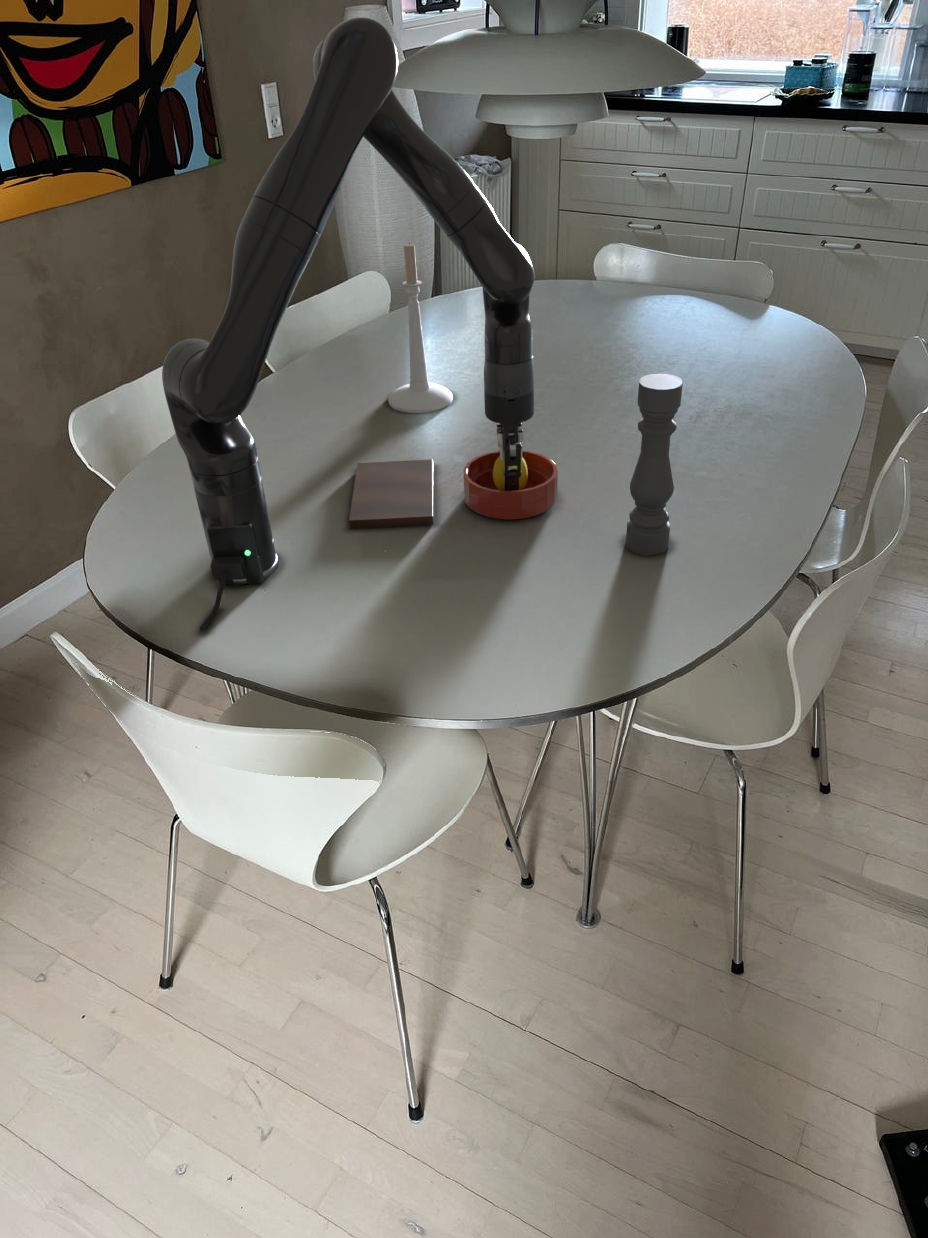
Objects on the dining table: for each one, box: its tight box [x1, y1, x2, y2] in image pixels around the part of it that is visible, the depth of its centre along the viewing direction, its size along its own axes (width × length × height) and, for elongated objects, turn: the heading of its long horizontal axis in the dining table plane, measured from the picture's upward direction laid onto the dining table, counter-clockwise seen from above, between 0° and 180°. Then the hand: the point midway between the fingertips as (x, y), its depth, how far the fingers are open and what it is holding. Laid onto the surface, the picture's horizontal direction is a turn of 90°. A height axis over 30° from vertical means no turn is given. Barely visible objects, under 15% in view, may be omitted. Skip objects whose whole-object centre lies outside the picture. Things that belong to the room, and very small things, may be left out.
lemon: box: [493, 456, 528, 491], centre depth 147 cm, size 6×6×8 cm
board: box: [348, 458, 434, 530], centre depth 152 cm, size 20×13×2 cm, turn 2°
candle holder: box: [625, 373, 684, 556], centre depth 129 cm, size 6×6×25 cm
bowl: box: [462, 449, 559, 520], centre depth 148 cm, size 15×15×5 cm
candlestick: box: [387, 242, 454, 414], centre depth 176 cm, size 13×13×30 cm
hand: (510, 486), depth 148 cm, fingers closed on lemon, 5 cm apart
